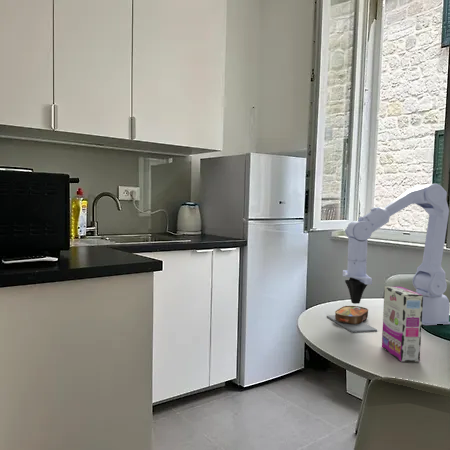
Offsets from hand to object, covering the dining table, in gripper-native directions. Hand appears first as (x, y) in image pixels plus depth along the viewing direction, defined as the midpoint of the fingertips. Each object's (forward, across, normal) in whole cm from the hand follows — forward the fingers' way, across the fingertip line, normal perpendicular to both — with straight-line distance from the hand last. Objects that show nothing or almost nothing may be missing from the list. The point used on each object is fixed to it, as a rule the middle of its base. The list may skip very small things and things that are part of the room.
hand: (355, 303), depth 136 cm
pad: (+6, 0, -2) cm, 7 cm away
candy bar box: (+7, +27, -2) cm, 28 cm away
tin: (+5, -1, +4) cm, 6 cm away
